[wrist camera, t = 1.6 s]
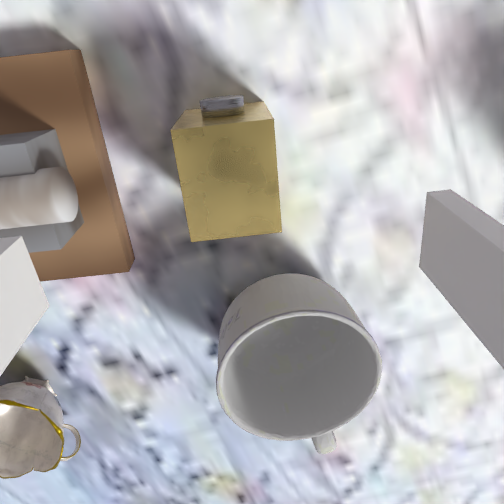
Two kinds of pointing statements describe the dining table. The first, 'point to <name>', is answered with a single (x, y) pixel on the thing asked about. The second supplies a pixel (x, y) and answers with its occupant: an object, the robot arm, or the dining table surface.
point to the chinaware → (31, 428)
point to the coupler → (228, 169)
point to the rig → (58, 169)
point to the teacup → (295, 361)
